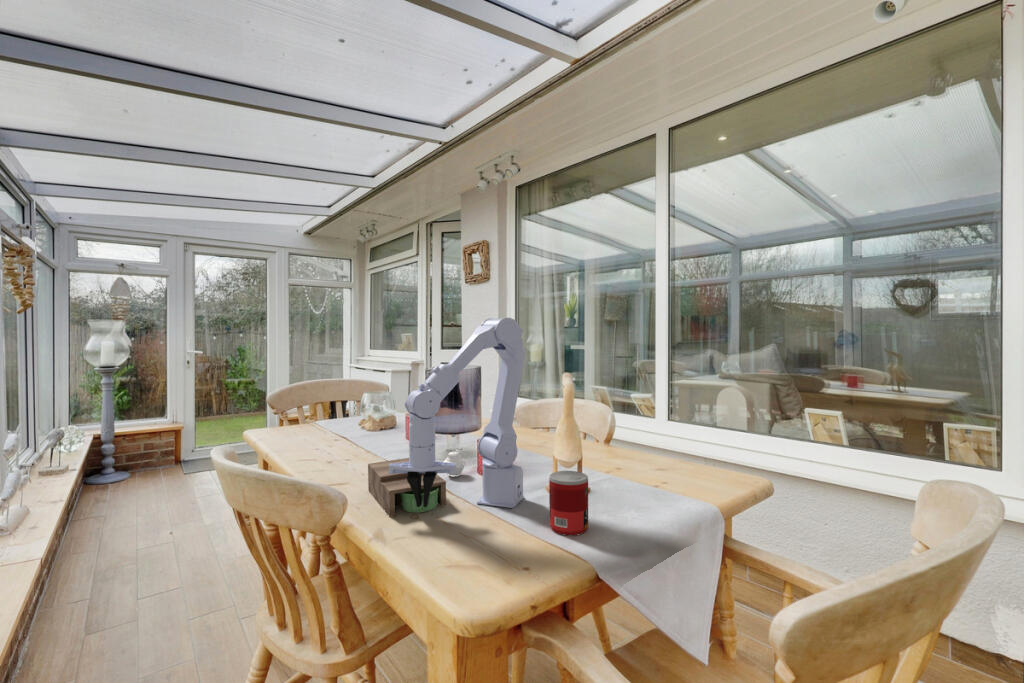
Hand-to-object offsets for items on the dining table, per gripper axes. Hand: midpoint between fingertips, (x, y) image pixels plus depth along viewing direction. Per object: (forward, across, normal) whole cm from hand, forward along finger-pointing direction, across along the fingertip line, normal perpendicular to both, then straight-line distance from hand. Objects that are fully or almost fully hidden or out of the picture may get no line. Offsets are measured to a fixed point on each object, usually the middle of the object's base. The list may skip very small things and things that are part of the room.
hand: (422, 505), depth 106 cm
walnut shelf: (+2, +6, -12) cm, 14 cm away
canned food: (+3, -32, +7) cm, 32 cm away
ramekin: (+3, +2, -6) cm, 6 cm away
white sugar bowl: (+3, -4, -29) cm, 30 cm away
